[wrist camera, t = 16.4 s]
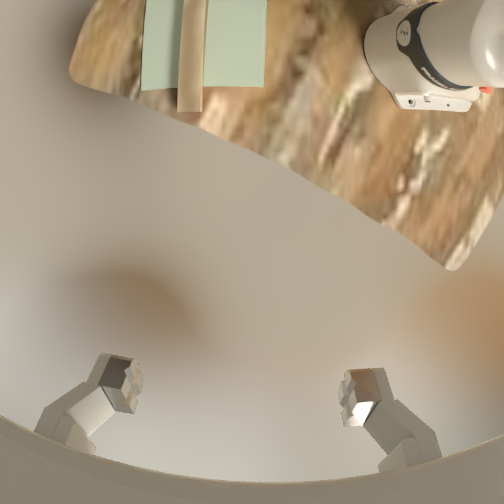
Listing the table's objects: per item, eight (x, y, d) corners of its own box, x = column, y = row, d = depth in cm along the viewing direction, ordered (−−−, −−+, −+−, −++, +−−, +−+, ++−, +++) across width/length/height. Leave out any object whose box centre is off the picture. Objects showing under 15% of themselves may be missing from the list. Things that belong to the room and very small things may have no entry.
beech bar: (209, -9, 31) (207, -17, 28) (202, 111, 40) (198, 111, 37) (189, -8, 31) (185, -15, 28) (181, 112, 40) (177, 112, 37)
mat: (267, -27, 30) (267, -28, 30) (263, 87, 39) (263, 86, 38) (150, -21, 29) (149, -22, 29) (142, 90, 38) (141, 90, 38)
